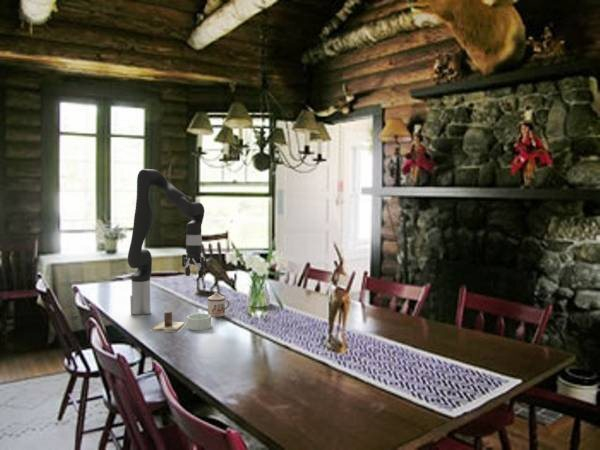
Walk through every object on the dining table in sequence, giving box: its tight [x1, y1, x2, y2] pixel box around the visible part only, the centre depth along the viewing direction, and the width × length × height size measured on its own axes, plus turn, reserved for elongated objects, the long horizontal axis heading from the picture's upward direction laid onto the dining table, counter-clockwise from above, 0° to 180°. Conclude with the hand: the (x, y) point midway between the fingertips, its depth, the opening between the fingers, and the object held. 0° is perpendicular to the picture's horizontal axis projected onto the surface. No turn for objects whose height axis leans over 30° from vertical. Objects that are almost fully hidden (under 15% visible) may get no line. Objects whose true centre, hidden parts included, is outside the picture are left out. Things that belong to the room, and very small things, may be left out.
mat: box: [148, 323, 187, 333], centre depth 242 cm, size 14×14×1 cm
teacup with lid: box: [206, 292, 231, 318], centre depth 267 cm, size 12×9×12 cm
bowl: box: [186, 312, 212, 331], centre depth 243 cm, size 11×11×6 cm
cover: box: [150, 311, 186, 332], centre depth 242 cm, size 12×12×7 cm
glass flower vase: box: [246, 282, 271, 307], centre depth 290 cm, size 13×13×18 cm
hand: (194, 276), depth 252 cm, fingers open, 8 cm apart
